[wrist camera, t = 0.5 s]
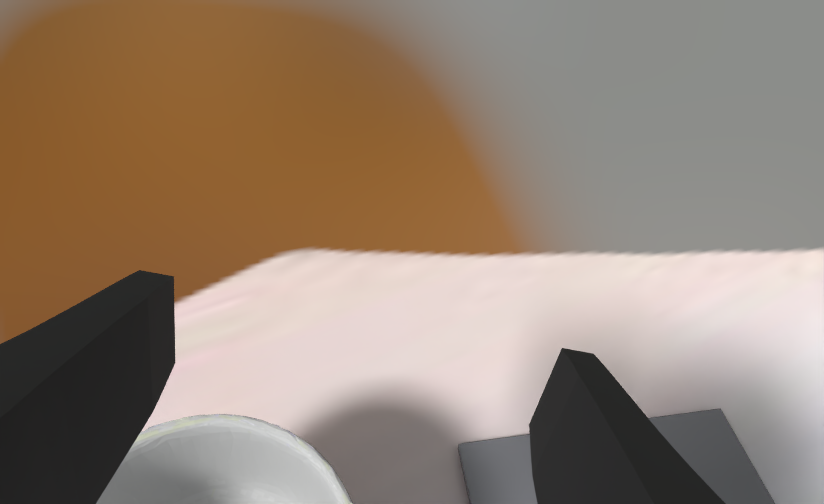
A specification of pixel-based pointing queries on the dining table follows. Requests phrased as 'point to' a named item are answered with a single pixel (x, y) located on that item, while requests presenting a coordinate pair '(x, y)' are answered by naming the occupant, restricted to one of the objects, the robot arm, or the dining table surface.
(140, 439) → the teacup
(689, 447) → the mat
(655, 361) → the dining table surface
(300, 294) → the dining table surface
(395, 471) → the dining table surface
